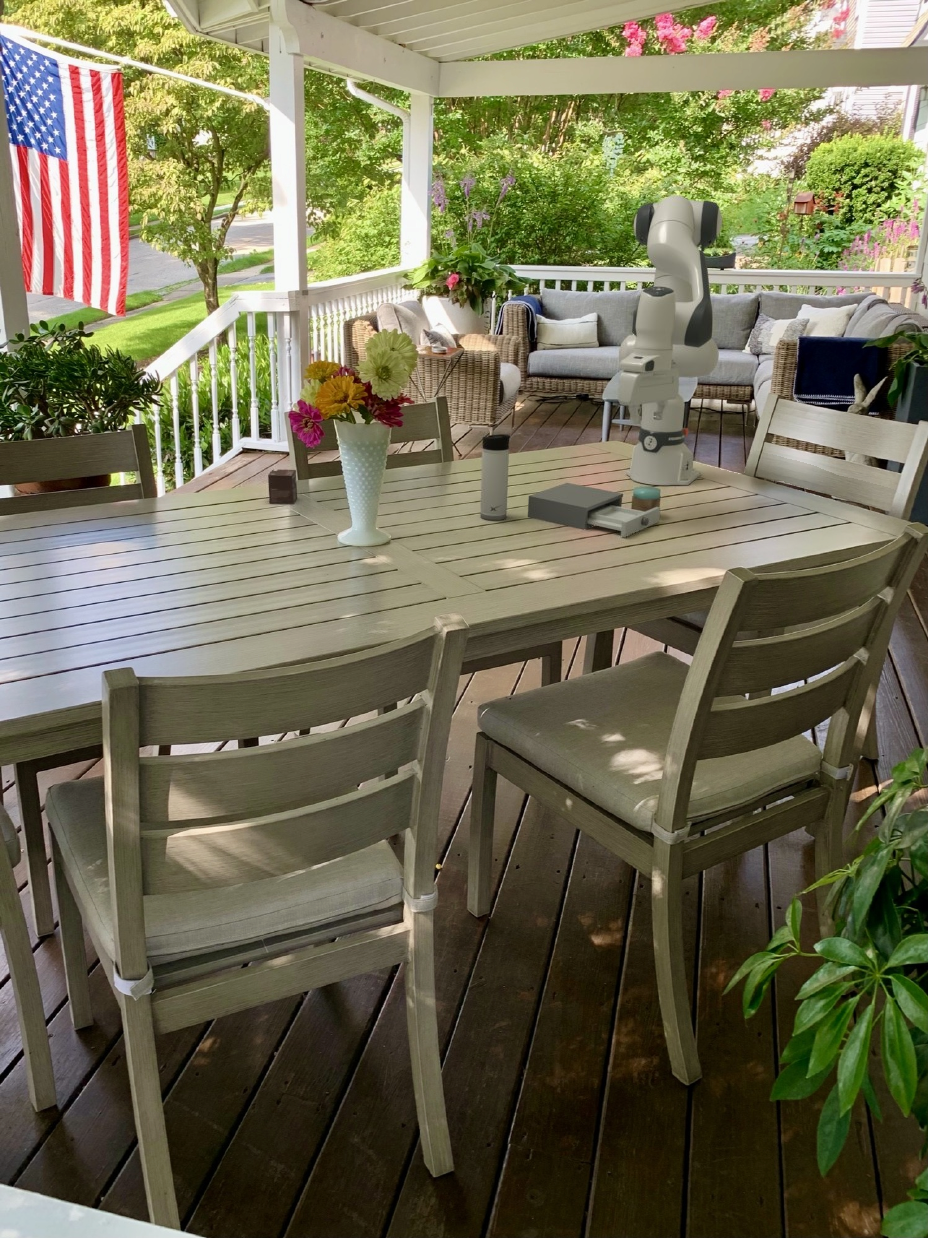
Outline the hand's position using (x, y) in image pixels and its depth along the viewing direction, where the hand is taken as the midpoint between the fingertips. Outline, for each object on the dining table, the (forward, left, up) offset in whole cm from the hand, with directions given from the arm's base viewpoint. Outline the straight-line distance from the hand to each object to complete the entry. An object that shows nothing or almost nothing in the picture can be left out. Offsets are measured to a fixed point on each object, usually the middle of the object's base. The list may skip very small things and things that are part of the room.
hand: (646, 421), depth 239 cm
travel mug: (+25, -25, -23) cm, 42 cm away
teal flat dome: (0, +2, -18) cm, 18 cm away
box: (+48, -73, -23) cm, 91 cm away
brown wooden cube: (0, +2, -23) cm, 23 cm away
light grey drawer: (+11, -1, -22) cm, 25 cm away
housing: (+11, -11, -23) cm, 28 cm away
